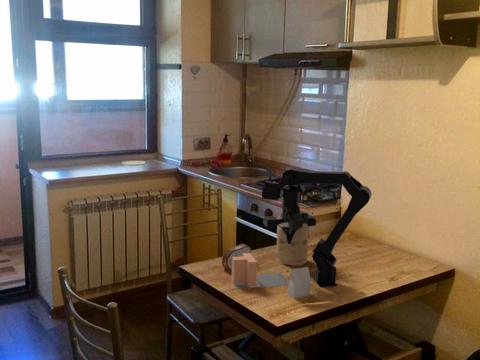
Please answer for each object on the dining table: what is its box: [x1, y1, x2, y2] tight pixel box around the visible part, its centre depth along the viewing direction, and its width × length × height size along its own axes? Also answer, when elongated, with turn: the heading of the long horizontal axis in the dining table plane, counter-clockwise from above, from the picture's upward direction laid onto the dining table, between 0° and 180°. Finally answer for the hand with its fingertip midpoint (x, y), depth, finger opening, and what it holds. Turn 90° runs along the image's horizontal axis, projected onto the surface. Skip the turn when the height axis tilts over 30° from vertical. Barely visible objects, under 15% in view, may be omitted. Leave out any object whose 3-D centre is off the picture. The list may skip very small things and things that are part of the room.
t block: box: [231, 252, 258, 287], centre depth 183 cm, size 8×9×9 cm
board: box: [229, 272, 288, 290], centre depth 186 cm, size 20×11×1 cm, turn 104°
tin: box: [221, 243, 252, 271], centre depth 199 cm, size 15×3×8 cm, turn 141°
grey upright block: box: [286, 266, 312, 299], centre depth 174 cm, size 4×7×10 cm, turn 119°
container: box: [275, 215, 310, 267], centre depth 205 cm, size 13×13×18 cm
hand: (288, 243), depth 189 cm, fingers closed
